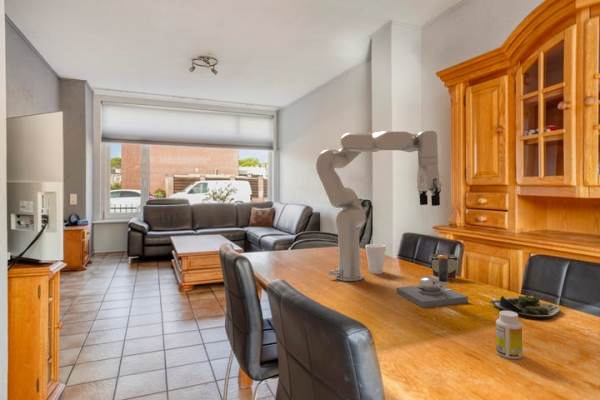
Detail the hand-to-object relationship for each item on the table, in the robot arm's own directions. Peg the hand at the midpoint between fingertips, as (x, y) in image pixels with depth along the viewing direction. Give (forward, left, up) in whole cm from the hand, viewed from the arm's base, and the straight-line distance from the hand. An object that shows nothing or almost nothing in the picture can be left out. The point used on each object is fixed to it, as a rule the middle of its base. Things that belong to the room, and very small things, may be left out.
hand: (429, 205), depth 144 cm
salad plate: (+14, -31, -34) cm, 48 cm away
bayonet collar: (-7, -13, -31) cm, 34 cm away
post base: (-7, -10, -34) cm, 36 cm away
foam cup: (-9, +32, -34) cm, 47 cm away
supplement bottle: (-15, -55, -34) cm, 67 cm away
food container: (+15, +14, -34) cm, 39 cm away
